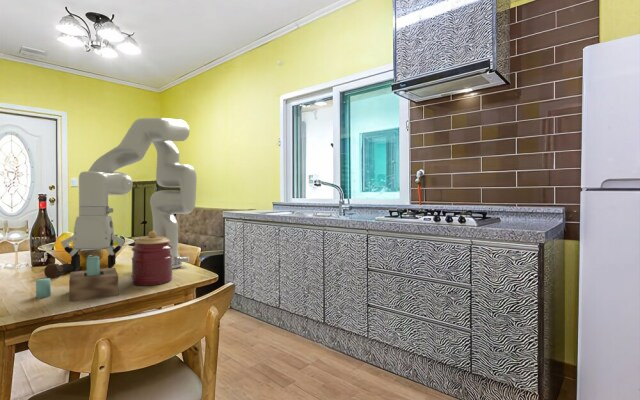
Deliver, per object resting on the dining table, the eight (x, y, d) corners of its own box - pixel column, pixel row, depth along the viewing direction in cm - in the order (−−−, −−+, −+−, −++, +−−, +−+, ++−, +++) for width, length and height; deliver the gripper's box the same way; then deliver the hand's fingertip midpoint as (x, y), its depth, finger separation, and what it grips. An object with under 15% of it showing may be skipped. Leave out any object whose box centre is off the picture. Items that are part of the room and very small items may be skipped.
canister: (178, 276, 129) (178, 229, 128) (161, 286, 116) (162, 233, 115) (143, 276, 129) (143, 228, 129) (123, 285, 116) (123, 232, 116)
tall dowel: (101, 291, 109) (101, 256, 109) (97, 294, 106) (97, 258, 106) (89, 291, 109) (89, 256, 108) (85, 295, 105) (84, 258, 105)
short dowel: (52, 294, 106) (52, 278, 105) (46, 297, 102) (46, 280, 102) (39, 295, 105) (39, 278, 105) (33, 298, 101) (33, 281, 101)
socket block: (114, 285, 116) (114, 267, 116) (118, 295, 106) (118, 275, 106) (70, 291, 109) (70, 272, 109) (69, 301, 99) (69, 280, 99)
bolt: (83, 273, 139) (52, 282, 124) (73, 267, 139) (41, 274, 124) (90, 261, 139) (60, 268, 124) (80, 254, 139) (49, 260, 124)
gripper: (128, 211, 112) (128, 264, 113) (67, 211, 108) (67, 266, 109) (121, 212, 105) (121, 269, 106) (55, 212, 101) (55, 271, 102)
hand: (93, 267), depth 107 cm, fingers open, 9 cm apart
